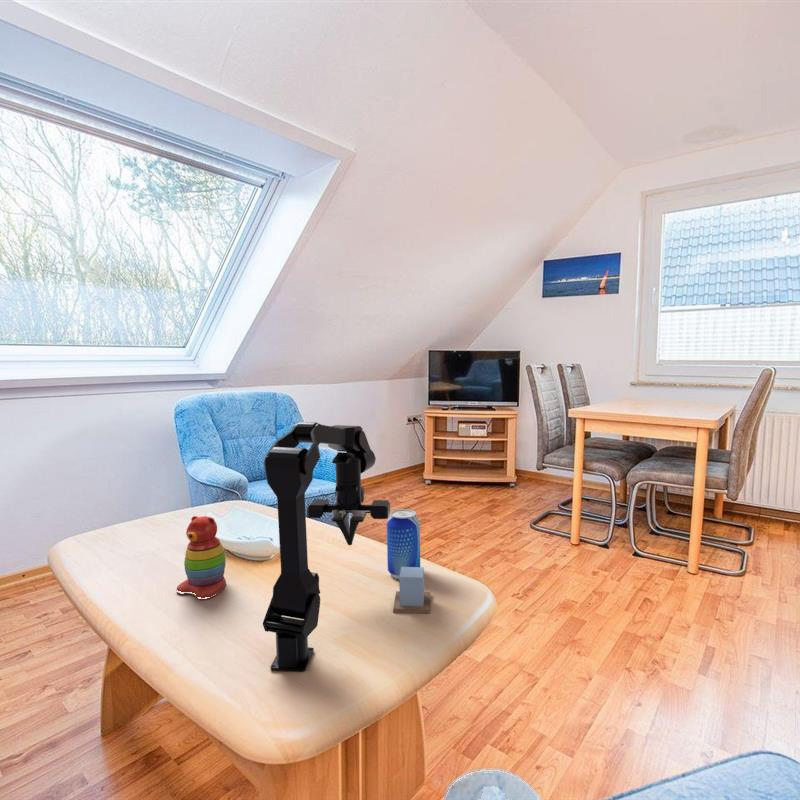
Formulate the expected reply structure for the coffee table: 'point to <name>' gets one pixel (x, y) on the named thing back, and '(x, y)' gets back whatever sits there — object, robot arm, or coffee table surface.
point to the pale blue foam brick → (411, 586)
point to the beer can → (402, 541)
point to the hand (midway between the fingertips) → (350, 544)
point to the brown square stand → (412, 609)
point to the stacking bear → (203, 559)
